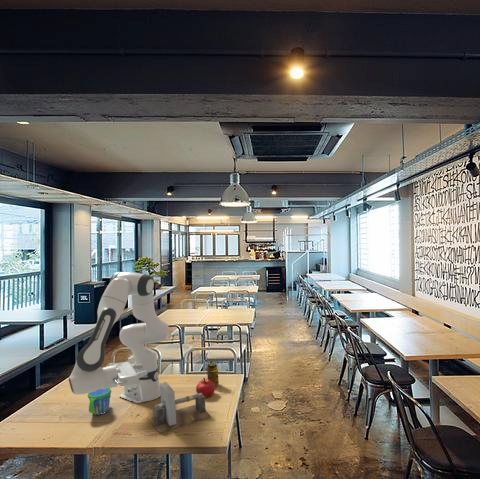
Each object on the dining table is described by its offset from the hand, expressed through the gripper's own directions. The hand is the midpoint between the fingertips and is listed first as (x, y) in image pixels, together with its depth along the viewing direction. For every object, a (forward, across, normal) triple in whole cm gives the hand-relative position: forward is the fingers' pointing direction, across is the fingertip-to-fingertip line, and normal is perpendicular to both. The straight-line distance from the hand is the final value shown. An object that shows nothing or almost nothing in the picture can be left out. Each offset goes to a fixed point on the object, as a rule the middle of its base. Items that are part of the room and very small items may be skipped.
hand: (144, 369), depth 157 cm
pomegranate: (+34, +16, +26) cm, 46 cm away
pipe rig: (+15, 0, +26) cm, 30 cm away
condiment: (+42, +25, +26) cm, 55 cm away
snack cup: (-16, +29, +26) cm, 42 cm away
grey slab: (+10, 0, +25) cm, 26 cm away
